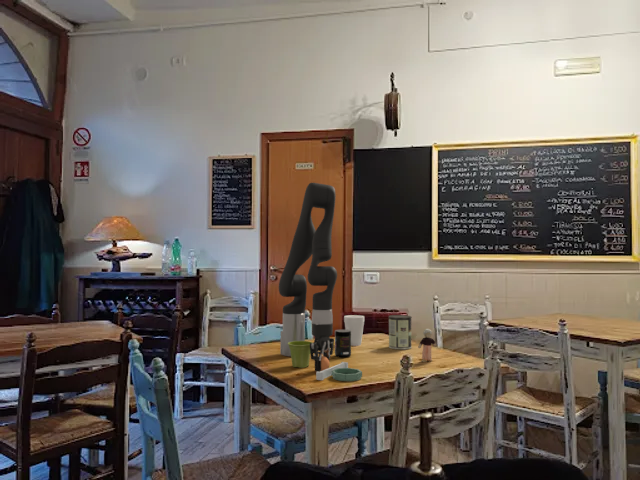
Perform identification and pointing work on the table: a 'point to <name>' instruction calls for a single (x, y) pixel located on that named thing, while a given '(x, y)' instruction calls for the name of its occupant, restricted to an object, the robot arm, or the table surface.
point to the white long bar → (330, 371)
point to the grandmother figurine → (427, 346)
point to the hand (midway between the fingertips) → (321, 369)
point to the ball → (324, 363)
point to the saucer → (346, 374)
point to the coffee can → (400, 332)
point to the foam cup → (355, 328)
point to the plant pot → (300, 353)
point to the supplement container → (342, 343)
